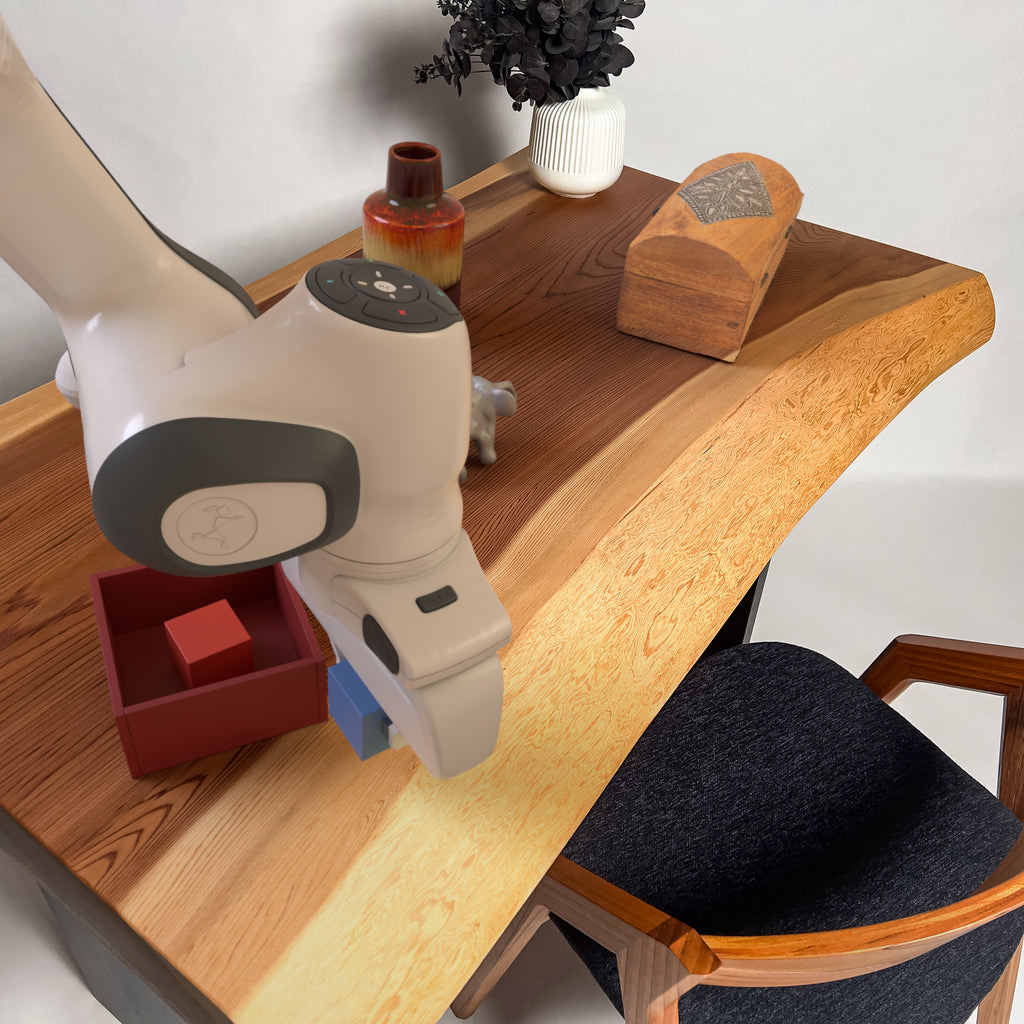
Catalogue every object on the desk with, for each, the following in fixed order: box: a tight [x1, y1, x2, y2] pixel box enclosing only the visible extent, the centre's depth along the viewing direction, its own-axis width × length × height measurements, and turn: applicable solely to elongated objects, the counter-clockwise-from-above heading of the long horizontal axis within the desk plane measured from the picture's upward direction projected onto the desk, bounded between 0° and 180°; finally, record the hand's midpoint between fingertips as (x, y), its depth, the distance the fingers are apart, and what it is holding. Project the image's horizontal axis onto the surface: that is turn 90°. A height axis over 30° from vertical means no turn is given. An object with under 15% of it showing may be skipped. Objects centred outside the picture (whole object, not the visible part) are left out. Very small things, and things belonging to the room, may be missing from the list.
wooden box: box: [615, 151, 805, 354], centre depth 118 cm, size 30×16×14 cm, turn 156°
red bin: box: [87, 562, 329, 779], centre depth 68 cm, size 13×13×6 cm
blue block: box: [327, 660, 392, 762], centre depth 61 cm, size 4×4×4 cm
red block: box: [164, 599, 256, 690], centre depth 68 cm, size 4×4×4 cm
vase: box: [361, 141, 466, 312], centre depth 103 cm, size 11×11×20 cm
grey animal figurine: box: [458, 373, 518, 484], centre depth 91 cm, size 9×12×8 cm
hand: (376, 706), depth 62 cm, fingers closed on blue block, 4 cm apart
